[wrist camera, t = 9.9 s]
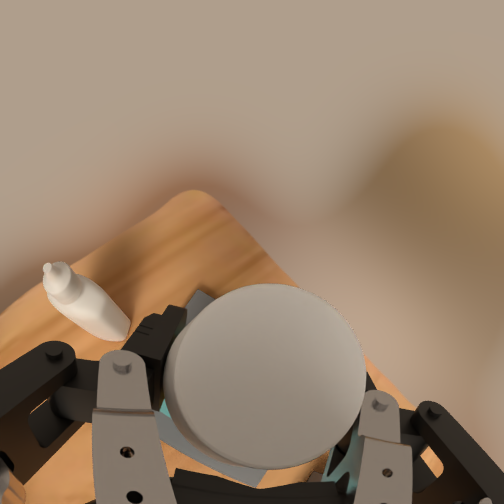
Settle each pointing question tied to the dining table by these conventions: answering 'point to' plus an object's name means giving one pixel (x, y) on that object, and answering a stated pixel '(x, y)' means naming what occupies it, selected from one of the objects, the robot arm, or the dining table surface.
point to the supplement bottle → (265, 377)
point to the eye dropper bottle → (84, 302)
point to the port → (177, 440)
